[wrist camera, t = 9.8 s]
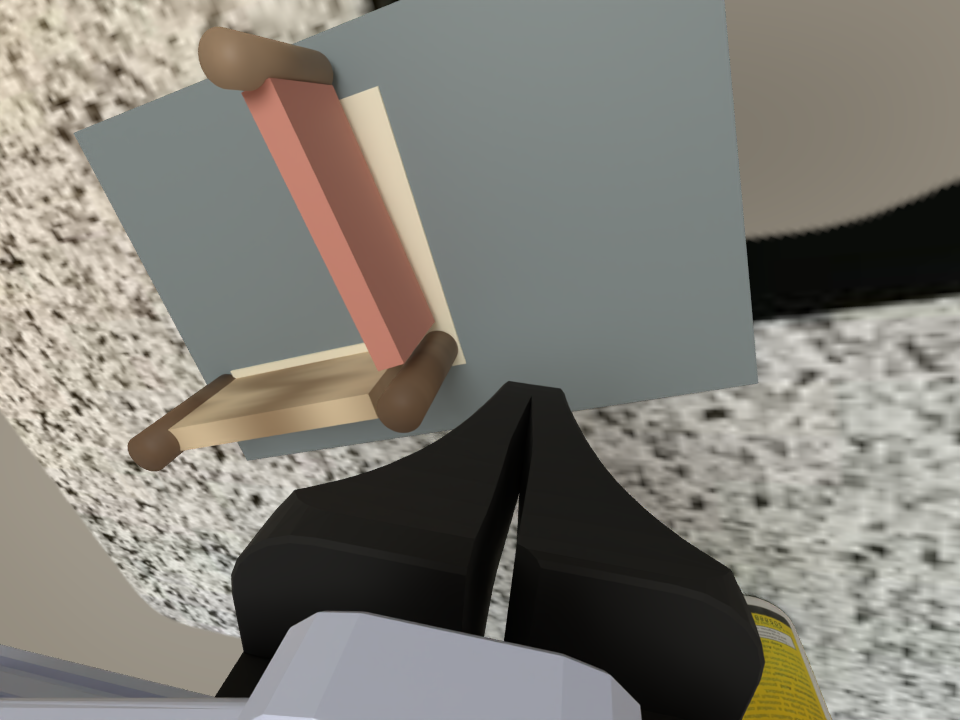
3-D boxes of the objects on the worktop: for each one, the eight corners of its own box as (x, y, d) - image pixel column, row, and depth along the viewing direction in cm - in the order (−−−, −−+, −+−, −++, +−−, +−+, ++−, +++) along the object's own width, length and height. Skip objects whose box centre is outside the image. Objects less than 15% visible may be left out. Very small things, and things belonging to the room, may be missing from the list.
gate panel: (440, 319, 21) (400, 374, 16) (409, 328, 21) (363, 385, 17) (321, 42, 17) (229, 16, 13) (287, 60, 18) (188, 41, 13)
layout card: (251, 456, 27) (246, 461, 27) (81, 132, 21) (71, 133, 21) (755, 378, 20) (758, 384, 20) (710, -122, 15) (713, -129, 14)
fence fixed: (230, 401, 26) (141, 473, 21) (215, 373, 25) (120, 439, 20) (465, 356, 22) (429, 429, 17) (454, 322, 22) (413, 387, 17)
